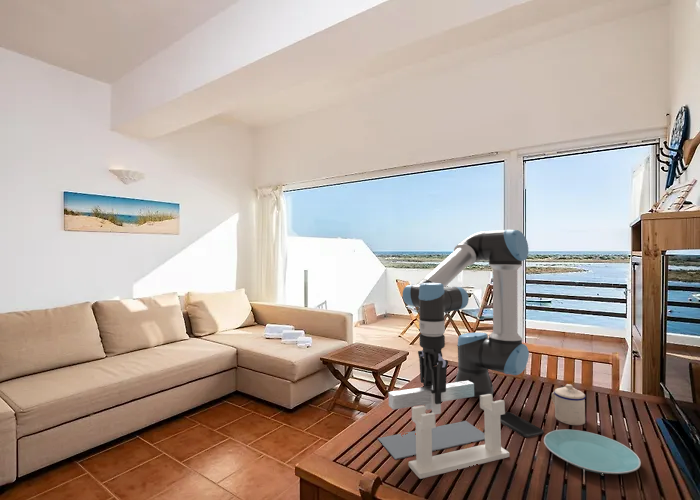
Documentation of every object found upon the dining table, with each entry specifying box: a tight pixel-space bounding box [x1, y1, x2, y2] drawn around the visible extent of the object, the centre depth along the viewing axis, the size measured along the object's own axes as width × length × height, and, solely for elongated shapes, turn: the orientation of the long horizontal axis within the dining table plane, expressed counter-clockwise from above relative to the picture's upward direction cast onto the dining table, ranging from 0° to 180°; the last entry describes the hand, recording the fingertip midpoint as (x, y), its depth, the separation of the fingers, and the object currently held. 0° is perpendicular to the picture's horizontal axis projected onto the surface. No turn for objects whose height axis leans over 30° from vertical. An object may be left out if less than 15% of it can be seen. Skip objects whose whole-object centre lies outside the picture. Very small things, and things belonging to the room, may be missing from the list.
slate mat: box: [377, 420, 485, 461], centre depth 113 cm, size 12×32×1 cm, turn 109°
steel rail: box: [388, 381, 475, 411], centre depth 113 cm, size 3×28×4 cm, turn 109°
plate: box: [543, 428, 642, 475], centre depth 102 cm, size 22×22×3 cm
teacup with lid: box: [551, 383, 587, 426], centre depth 125 cm, size 12×9×12 cm
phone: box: [500, 411, 545, 438], centre depth 121 cm, size 8×1×15 cm
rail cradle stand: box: [408, 394, 510, 480], centre depth 101 cm, size 6×28×16 cm, turn 109°
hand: (433, 410), depth 113 cm, fingers closed on steel rail, 3 cm apart
